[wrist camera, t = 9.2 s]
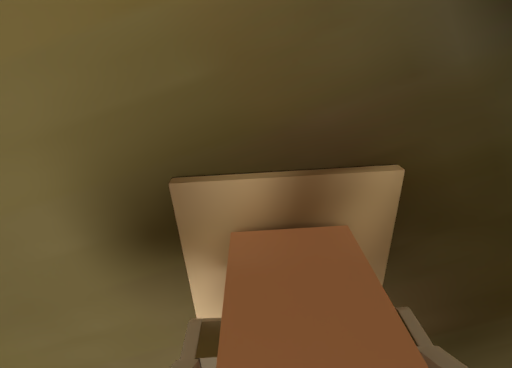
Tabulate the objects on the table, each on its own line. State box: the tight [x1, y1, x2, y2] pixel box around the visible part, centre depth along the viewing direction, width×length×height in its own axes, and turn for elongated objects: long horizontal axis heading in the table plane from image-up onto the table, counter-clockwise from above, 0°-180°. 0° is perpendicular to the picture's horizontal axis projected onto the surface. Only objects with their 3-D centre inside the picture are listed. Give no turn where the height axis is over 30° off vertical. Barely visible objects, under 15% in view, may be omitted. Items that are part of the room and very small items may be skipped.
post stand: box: [169, 165, 405, 319], centre depth 12 cm, size 10×10×6 cm
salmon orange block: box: [216, 225, 429, 368], centre depth 10 cm, size 5×5×7 cm
